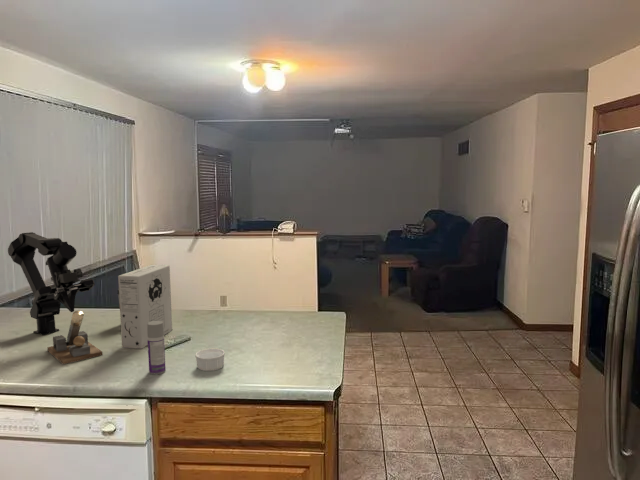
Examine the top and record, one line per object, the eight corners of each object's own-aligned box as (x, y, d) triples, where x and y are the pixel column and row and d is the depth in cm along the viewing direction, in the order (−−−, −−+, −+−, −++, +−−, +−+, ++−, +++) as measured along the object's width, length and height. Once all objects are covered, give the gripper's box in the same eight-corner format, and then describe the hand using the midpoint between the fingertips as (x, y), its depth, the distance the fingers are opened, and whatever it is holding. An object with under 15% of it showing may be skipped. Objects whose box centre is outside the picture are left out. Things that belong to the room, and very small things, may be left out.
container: (151, 368, 156) (148, 320, 154) (167, 368, 156) (164, 320, 155) (147, 374, 151) (145, 325, 150) (163, 374, 152) (161, 324, 150)
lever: (63, 341, 173) (70, 311, 164) (74, 339, 175) (82, 309, 166) (66, 349, 171) (73, 319, 162) (77, 346, 174) (85, 317, 164)
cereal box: (154, 329, 197) (151, 264, 193) (172, 330, 195) (169, 265, 192) (121, 347, 176) (117, 275, 172) (141, 349, 174) (138, 276, 171)
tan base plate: (47, 350, 173) (46, 330, 172) (84, 342, 181) (83, 323, 180) (63, 364, 160) (61, 342, 159) (102, 355, 168) (101, 334, 167)
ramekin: (226, 370, 155) (226, 356, 154) (196, 373, 153) (195, 359, 152) (223, 360, 163) (223, 346, 163) (195, 363, 161) (194, 349, 160)
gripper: (37, 266, 170) (51, 309, 167) (93, 257, 184) (107, 297, 181) (28, 279, 177) (41, 321, 174) (83, 270, 191) (96, 308, 188)
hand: (72, 311), depth 179 cm, fingers closed
